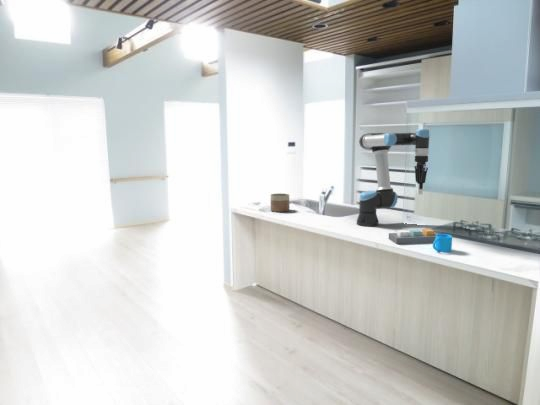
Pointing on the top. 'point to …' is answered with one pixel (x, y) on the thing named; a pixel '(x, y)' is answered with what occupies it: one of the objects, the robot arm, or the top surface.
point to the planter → (280, 202)
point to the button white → (402, 233)
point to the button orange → (428, 232)
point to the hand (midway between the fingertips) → (419, 194)
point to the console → (412, 238)
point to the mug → (443, 243)
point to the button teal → (415, 232)
